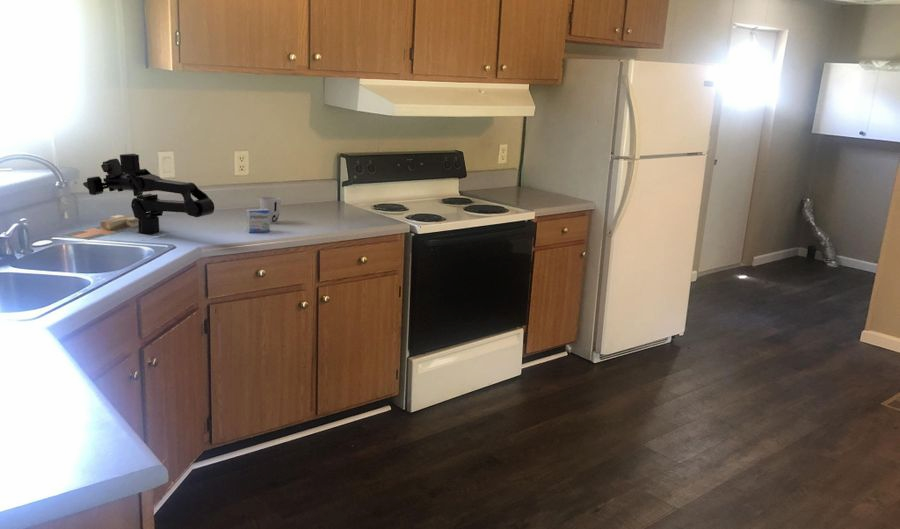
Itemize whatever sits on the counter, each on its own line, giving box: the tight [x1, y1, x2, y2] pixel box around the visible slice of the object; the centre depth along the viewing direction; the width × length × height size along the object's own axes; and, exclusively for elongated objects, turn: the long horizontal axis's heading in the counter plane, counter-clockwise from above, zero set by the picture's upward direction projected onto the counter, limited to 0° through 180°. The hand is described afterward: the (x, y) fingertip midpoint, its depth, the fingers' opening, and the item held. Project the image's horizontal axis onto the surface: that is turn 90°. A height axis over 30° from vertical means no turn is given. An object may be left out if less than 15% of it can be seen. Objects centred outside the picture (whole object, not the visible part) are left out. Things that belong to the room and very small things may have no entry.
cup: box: [259, 196, 281, 225], centre depth 290 cm, size 8×8×10 cm
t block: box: [100, 214, 139, 231], centre depth 266 cm, size 10×12×3 cm
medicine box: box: [245, 208, 271, 234], centre depth 274 cm, size 8×4×9 cm, turn 117°
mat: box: [62, 225, 139, 241], centre depth 261 cm, size 12×26×1 cm, turn 161°
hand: (93, 182), depth 267 cm, fingers open, 9 cm apart
